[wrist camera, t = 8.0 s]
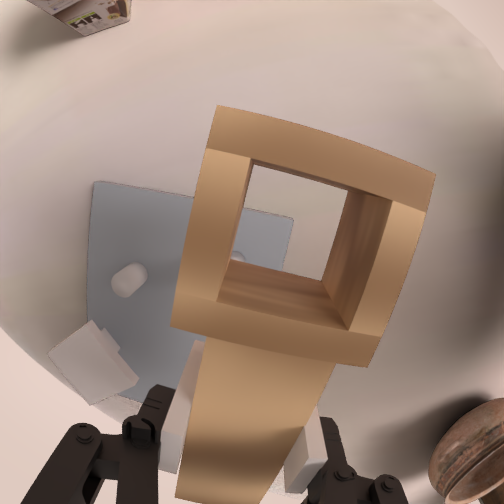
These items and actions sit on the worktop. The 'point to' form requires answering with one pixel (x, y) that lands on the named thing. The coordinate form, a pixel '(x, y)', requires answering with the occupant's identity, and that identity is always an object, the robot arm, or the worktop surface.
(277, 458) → the link
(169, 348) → the pintle base
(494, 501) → the wooden container
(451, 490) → the cooking pot
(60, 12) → the coffee box
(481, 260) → the worktop surface
